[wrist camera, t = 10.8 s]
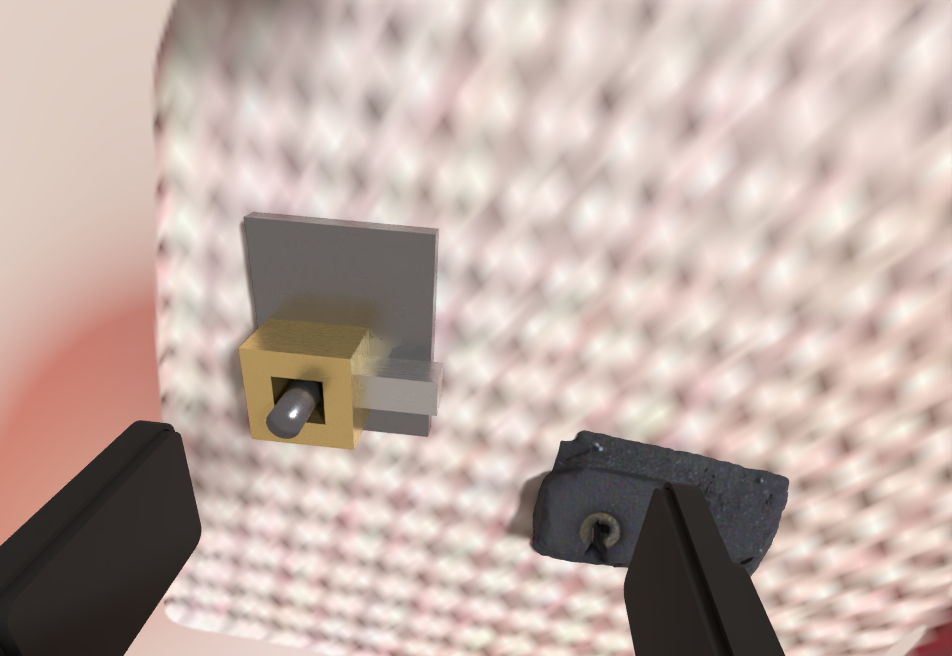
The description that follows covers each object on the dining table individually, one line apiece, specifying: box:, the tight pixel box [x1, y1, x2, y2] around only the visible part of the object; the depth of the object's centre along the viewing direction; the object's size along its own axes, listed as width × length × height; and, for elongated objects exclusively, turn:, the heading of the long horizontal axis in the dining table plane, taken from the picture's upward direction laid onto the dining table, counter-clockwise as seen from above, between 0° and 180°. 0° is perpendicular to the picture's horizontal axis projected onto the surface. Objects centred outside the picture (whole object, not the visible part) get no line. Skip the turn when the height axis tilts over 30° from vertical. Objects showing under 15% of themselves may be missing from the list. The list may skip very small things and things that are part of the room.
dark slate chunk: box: [532, 431, 789, 577], centre depth 47 cm, size 15×22×5 cm
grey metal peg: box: [266, 379, 323, 439], centre depth 39 cm, size 2×2×8 cm
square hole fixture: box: [238, 212, 443, 450], centre depth 40 cm, size 18×15×6 cm
